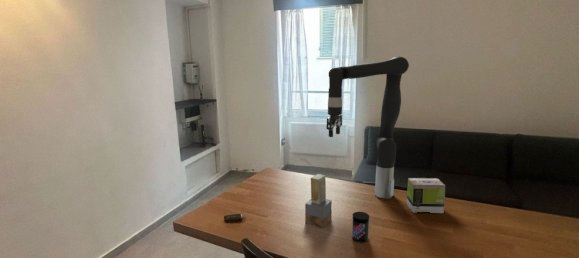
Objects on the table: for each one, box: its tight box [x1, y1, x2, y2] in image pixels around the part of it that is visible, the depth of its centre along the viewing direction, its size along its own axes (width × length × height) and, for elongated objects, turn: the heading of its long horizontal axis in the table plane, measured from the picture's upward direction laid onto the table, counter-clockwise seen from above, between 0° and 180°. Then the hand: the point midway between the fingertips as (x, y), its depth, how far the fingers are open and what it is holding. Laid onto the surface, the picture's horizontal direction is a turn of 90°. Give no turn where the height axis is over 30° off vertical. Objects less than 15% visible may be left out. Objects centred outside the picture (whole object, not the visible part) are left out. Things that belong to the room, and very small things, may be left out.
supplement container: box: [351, 211, 370, 243], centre depth 124 cm, size 7×7×10 cm
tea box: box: [406, 177, 446, 214], centre depth 149 cm, size 15×10×15 cm
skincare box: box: [310, 173, 327, 205], centre depth 136 cm, size 6×4×12 cm
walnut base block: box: [304, 209, 333, 229], centre depth 139 cm, size 9×9×5 cm
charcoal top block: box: [304, 198, 332, 218], centre depth 138 cm, size 9×9×5 cm
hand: (334, 135), depth 162 cm, fingers open, 8 cm apart
